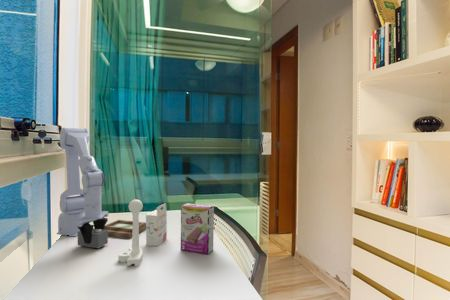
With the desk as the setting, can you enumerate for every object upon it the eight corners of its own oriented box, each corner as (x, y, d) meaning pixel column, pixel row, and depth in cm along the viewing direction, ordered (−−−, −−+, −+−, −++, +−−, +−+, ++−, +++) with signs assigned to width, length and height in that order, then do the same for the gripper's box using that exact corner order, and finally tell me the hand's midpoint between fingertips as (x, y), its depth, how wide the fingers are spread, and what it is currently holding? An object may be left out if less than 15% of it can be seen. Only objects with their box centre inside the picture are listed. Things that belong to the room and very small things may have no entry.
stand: (100, 235, 117) (100, 227, 117) (121, 225, 131) (121, 218, 130) (129, 238, 113) (129, 230, 113) (148, 228, 127) (148, 221, 127)
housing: (77, 245, 104) (77, 230, 104) (87, 240, 109) (87, 226, 108) (98, 248, 101) (98, 232, 101) (107, 243, 106) (107, 228, 106)
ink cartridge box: (155, 237, 115) (155, 201, 114) (166, 238, 114) (167, 202, 113) (145, 245, 106) (145, 206, 106) (157, 246, 105) (157, 207, 105)
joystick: (142, 265, 89) (142, 202, 89) (116, 268, 87) (116, 204, 87) (142, 252, 100) (142, 196, 99) (119, 254, 98) (119, 196, 97)
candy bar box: (179, 250, 102) (180, 205, 101) (186, 245, 107) (186, 202, 106) (208, 255, 98) (209, 208, 98) (213, 250, 103) (214, 205, 102)
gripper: (87, 209, 96) (87, 248, 97) (115, 200, 110) (114, 235, 111) (70, 207, 98) (70, 246, 99) (99, 199, 112) (99, 233, 113)
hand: (93, 240), depth 105 cm, fingers closed on housing, 5 cm apart
